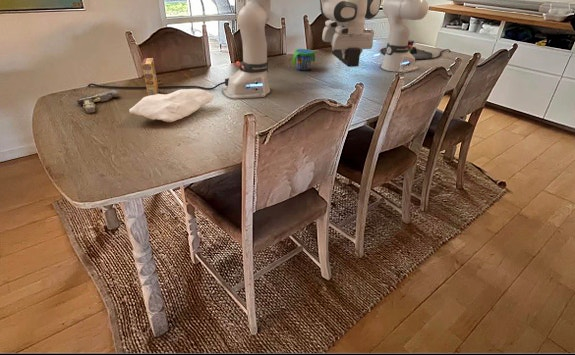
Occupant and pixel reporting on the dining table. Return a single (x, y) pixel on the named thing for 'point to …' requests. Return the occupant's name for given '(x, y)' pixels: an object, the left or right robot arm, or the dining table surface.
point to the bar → (349, 56)
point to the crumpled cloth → (171, 104)
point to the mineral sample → (414, 51)
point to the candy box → (150, 76)
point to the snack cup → (303, 58)
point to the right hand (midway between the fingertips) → (339, 50)
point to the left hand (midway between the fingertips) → (350, 58)
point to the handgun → (95, 100)
